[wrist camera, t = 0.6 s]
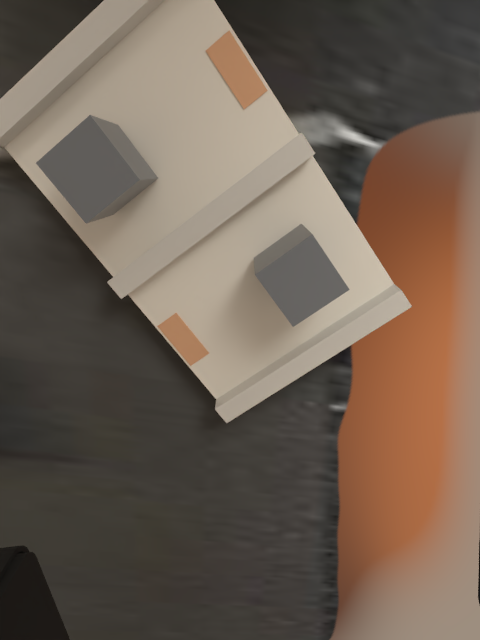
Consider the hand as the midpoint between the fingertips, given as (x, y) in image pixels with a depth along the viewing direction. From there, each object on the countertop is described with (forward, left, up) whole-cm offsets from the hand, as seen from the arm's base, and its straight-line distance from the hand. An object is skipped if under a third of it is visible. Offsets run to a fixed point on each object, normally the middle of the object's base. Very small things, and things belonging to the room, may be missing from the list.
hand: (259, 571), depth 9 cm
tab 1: (+3, -12, -23) cm, 26 cm away
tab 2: (-3, 0, -23) cm, 23 cm away
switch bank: (0, -6, -25) cm, 26 cm away
